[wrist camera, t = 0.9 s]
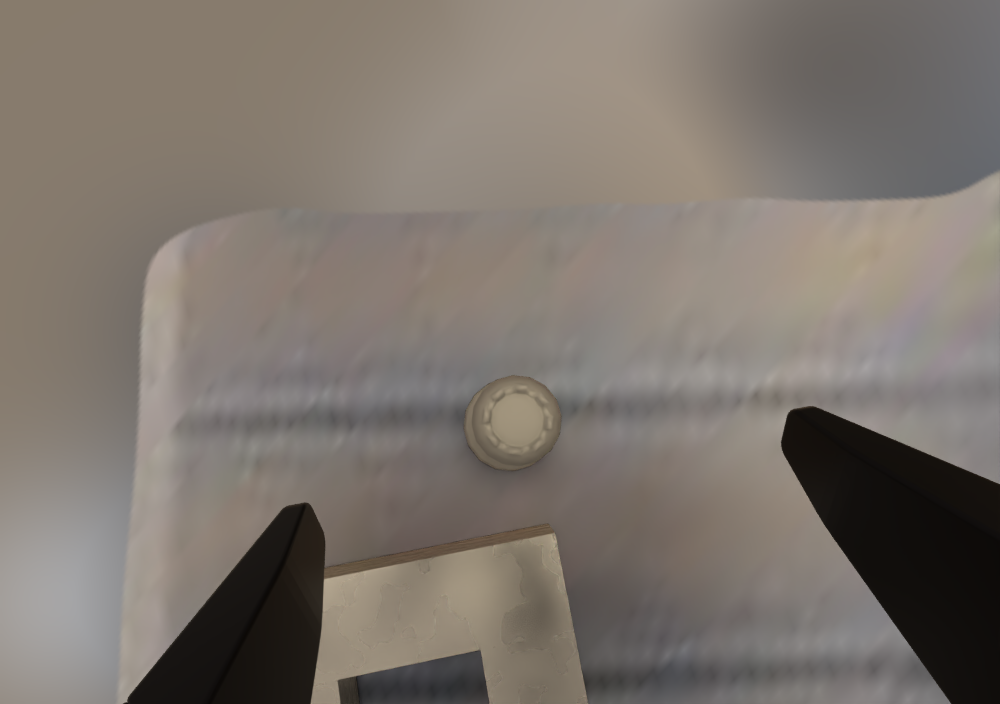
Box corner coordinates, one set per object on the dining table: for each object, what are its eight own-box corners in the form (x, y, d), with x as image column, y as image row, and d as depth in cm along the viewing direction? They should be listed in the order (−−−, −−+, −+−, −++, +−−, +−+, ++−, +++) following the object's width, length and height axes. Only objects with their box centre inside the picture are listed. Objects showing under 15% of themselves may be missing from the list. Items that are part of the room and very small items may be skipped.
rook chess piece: (564, 395, 26) (598, 377, 18) (538, 482, 25) (561, 503, 17) (480, 368, 26) (476, 338, 18) (451, 454, 25) (435, 462, 17)
